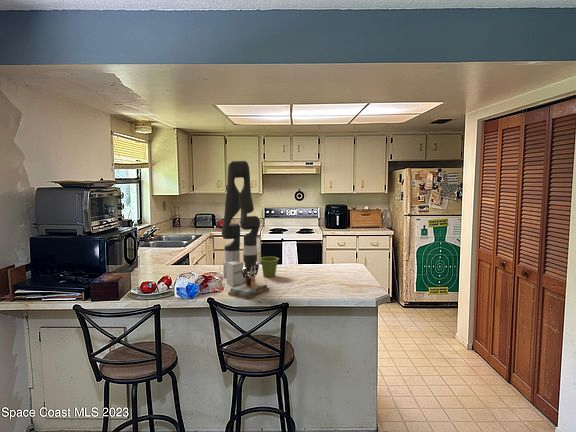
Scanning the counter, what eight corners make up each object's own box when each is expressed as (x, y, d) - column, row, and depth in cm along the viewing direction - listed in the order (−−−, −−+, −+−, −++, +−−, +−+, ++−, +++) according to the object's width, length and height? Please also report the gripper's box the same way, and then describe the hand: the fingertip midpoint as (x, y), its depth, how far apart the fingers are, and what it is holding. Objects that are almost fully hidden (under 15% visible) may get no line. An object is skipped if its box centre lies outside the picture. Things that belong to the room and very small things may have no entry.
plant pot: (256, 277, 247) (256, 259, 245) (266, 273, 257) (266, 255, 256) (272, 279, 241) (272, 261, 240) (282, 275, 252) (282, 257, 250)
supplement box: (232, 286, 228) (232, 264, 226) (226, 283, 234) (226, 262, 232) (243, 284, 232) (243, 262, 231) (237, 281, 238) (237, 260, 236)
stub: (241, 288, 217) (241, 276, 216) (245, 287, 221) (245, 274, 220) (254, 291, 213) (254, 278, 212) (258, 289, 216) (258, 277, 215)
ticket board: (228, 294, 212) (228, 288, 211) (248, 286, 227) (248, 280, 227) (249, 299, 205) (249, 292, 204) (269, 290, 220) (269, 283, 220)
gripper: (252, 250, 223) (252, 280, 225) (236, 254, 211) (236, 286, 213) (263, 251, 219) (263, 282, 221) (248, 256, 207) (248, 288, 209)
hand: (250, 284), depth 217 cm, fingers closed on stub, 3 cm apart
